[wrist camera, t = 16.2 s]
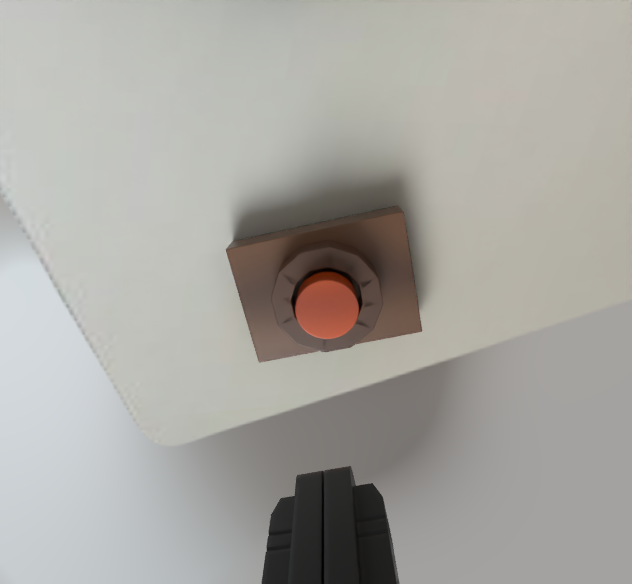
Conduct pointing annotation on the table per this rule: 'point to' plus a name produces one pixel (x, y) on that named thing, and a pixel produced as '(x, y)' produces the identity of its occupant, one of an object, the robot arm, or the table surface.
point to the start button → (327, 305)
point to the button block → (336, 256)
